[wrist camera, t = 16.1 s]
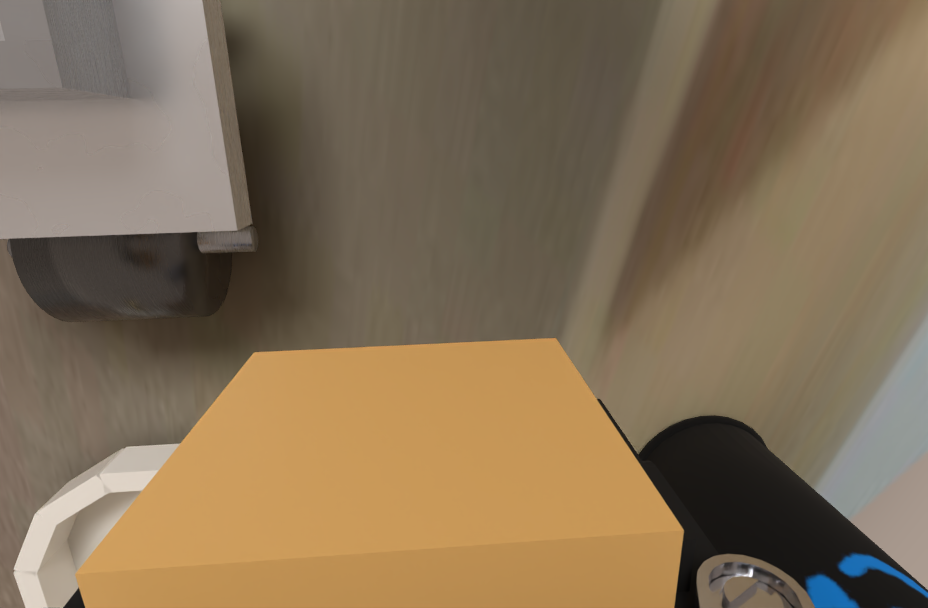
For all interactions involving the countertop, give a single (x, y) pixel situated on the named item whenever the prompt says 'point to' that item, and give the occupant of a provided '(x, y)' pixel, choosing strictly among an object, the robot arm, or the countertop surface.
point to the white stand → (120, 157)
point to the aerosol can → (775, 516)
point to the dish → (81, 522)
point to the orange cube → (396, 491)
